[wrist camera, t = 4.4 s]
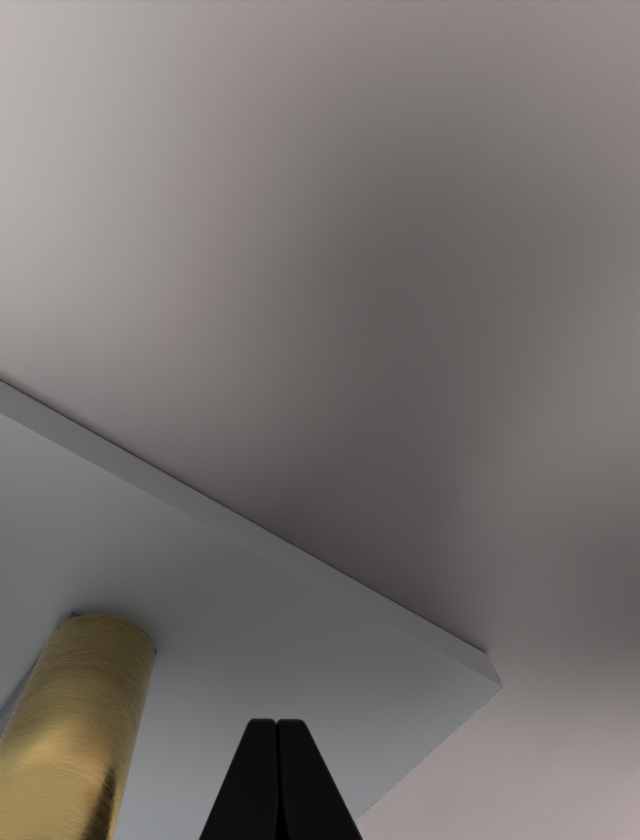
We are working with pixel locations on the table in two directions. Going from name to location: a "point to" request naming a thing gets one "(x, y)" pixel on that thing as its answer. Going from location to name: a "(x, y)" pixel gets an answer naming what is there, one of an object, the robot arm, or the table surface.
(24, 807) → the metal measuring spoon
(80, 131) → the table surface
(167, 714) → the board
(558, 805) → the table surface
